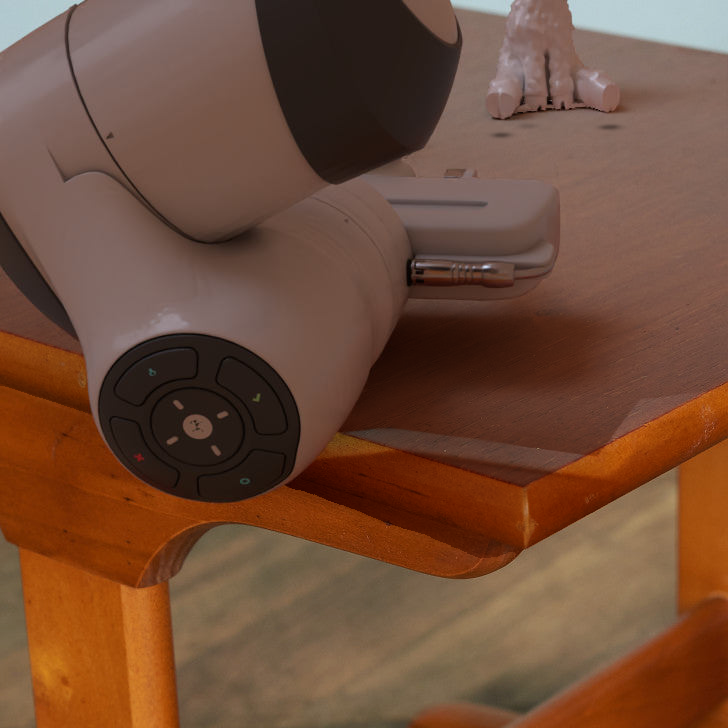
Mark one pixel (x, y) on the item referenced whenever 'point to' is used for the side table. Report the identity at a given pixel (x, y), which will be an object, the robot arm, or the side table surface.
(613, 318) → the side table surface
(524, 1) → the white creature statuette
